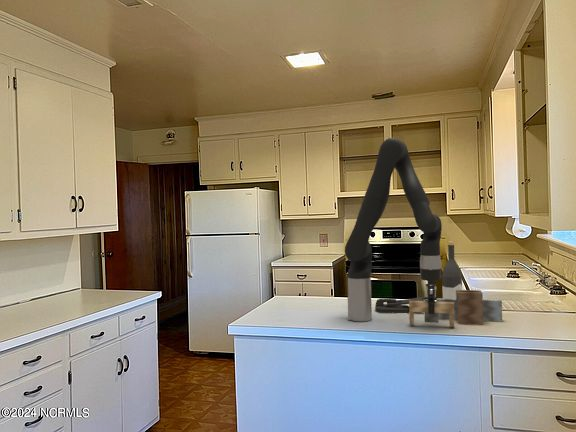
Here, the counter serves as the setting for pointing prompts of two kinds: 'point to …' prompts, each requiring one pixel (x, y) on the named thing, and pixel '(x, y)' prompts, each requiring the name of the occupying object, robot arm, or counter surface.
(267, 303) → the counter surface
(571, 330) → the counter surface
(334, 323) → the counter surface
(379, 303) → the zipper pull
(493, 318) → the grey brown blocky piece
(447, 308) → the wooden bridge block
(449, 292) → the wine bottle
